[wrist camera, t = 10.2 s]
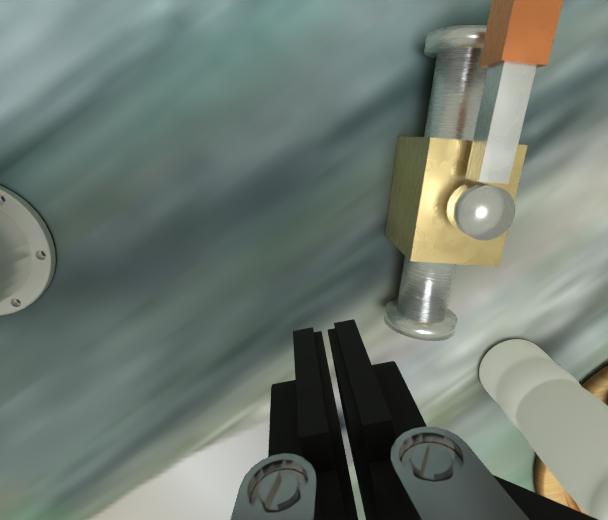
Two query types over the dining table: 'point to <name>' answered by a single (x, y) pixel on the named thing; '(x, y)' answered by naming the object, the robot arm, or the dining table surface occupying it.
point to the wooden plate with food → (602, 386)
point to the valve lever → (502, 112)
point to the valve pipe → (440, 189)
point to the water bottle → (553, 418)
